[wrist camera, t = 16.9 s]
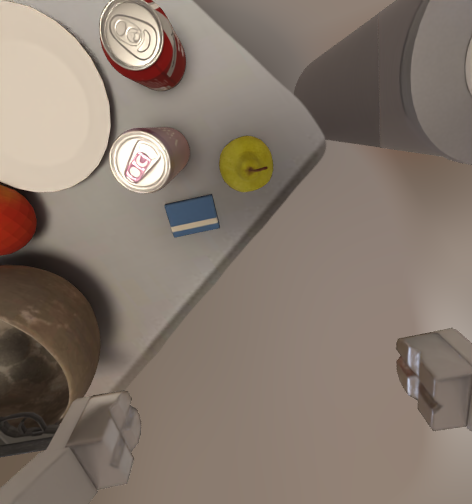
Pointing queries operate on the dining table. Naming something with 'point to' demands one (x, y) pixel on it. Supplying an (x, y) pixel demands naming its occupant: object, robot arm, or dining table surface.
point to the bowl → (44, 344)
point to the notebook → (192, 215)
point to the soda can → (142, 43)
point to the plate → (47, 104)
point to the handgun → (24, 435)
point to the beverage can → (148, 158)
